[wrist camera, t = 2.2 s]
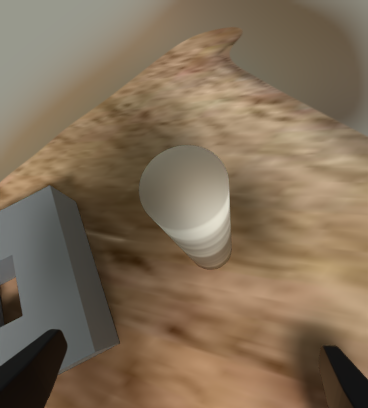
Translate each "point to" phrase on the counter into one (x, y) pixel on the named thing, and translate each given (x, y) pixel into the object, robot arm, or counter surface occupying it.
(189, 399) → the counter surface
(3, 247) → the socket block
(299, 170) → the counter surface
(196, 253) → the long pin
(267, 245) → the counter surface
